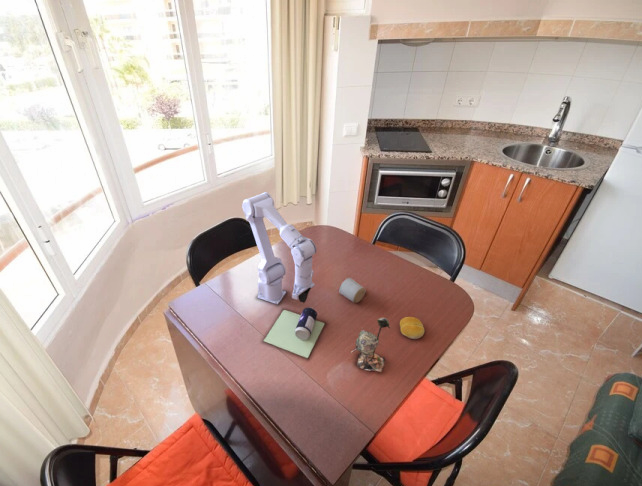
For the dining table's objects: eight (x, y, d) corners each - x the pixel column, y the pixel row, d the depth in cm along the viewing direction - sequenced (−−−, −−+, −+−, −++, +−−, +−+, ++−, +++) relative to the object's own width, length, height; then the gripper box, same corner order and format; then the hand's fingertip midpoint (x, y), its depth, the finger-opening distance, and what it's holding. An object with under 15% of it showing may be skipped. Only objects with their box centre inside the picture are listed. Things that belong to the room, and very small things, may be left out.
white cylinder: (353, 307, 128) (356, 292, 123) (338, 296, 133) (339, 282, 129) (370, 295, 133) (372, 280, 129) (354, 285, 139) (356, 271, 134)
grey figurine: (356, 345, 113) (363, 304, 101) (388, 360, 107) (399, 319, 96) (346, 361, 107) (352, 320, 96) (379, 379, 102) (390, 337, 90)
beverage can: (306, 303, 121) (296, 326, 112) (320, 310, 120) (311, 334, 111) (301, 312, 125) (292, 336, 115) (315, 319, 124) (306, 343, 115)
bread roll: (401, 338, 115) (403, 331, 112) (398, 320, 122) (400, 312, 119) (425, 341, 113) (428, 334, 111) (421, 322, 120) (423, 315, 118)
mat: (263, 341, 115) (263, 340, 115) (284, 310, 128) (283, 309, 127) (307, 358, 109) (307, 358, 109) (324, 323, 121) (324, 323, 121)
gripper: (306, 288, 103) (305, 317, 111) (321, 263, 114) (319, 291, 122) (286, 282, 106) (286, 311, 114) (303, 258, 116) (302, 286, 124)
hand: (302, 301), depth 118 cm, fingers closed
